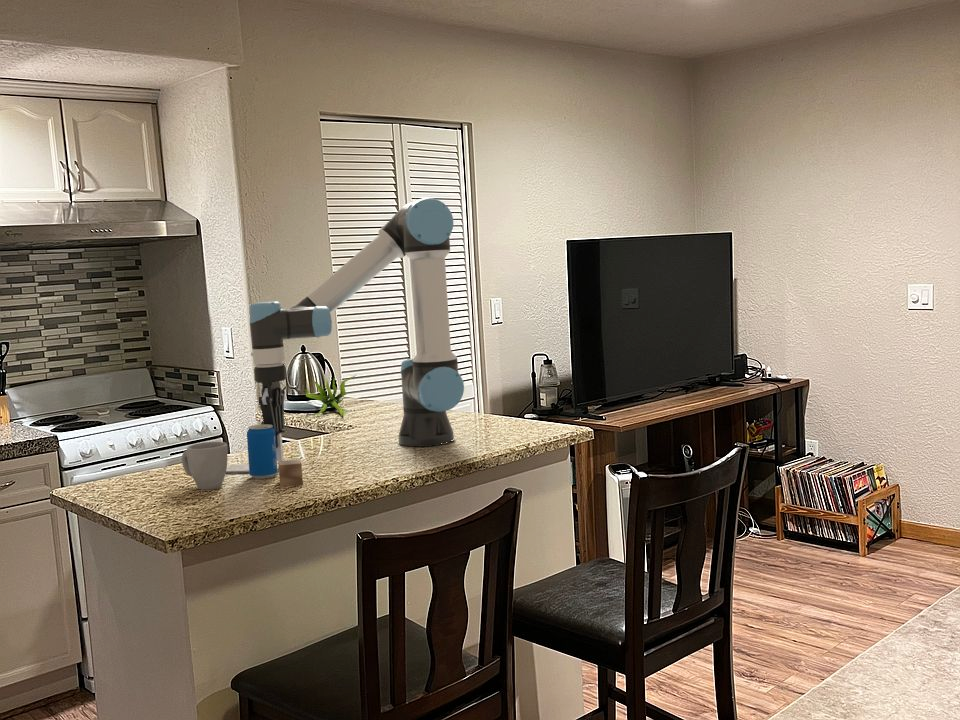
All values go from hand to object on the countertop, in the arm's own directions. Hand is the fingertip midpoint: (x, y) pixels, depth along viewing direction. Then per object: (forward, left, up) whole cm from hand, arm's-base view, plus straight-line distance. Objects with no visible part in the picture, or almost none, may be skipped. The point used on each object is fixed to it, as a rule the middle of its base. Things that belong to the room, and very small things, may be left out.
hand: (277, 460), depth 227 cm
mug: (+11, +18, -2) cm, 21 cm away
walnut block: (-9, +17, -2) cm, 19 cm away
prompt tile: (+8, +1, -2) cm, 9 cm away
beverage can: (0, +9, -2) cm, 10 cm away
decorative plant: (+7, -85, -2) cm, 85 cm away
